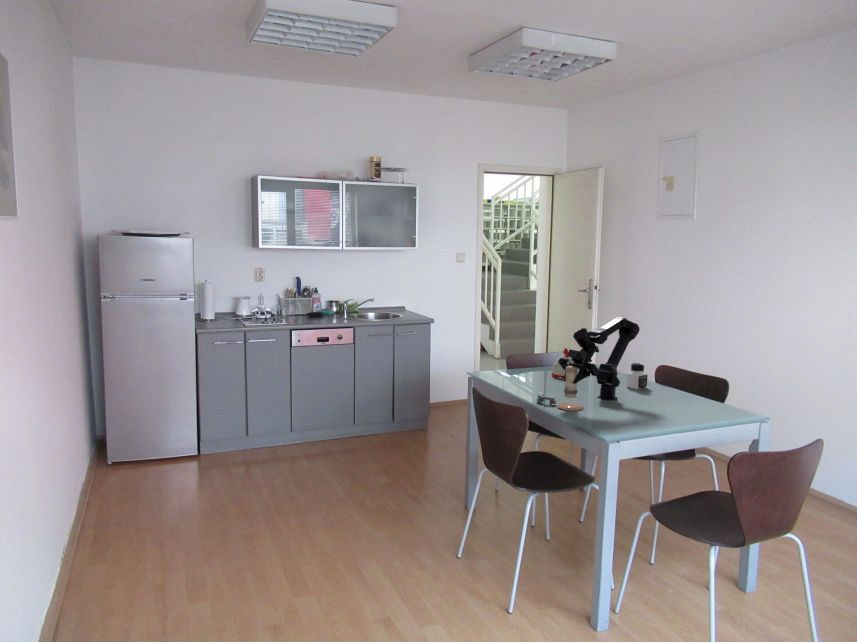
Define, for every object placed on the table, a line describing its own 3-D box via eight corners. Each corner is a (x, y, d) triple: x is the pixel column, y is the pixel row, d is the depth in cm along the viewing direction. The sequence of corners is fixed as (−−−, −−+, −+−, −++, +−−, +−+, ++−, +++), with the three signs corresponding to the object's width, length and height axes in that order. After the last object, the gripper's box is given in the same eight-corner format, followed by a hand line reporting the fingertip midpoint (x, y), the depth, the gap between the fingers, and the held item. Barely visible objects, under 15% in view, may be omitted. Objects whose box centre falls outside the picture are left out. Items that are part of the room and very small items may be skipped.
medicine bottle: (638, 390, 310) (639, 365, 309) (625, 387, 316) (627, 363, 315) (647, 388, 315) (648, 364, 313) (634, 385, 320) (636, 361, 319)
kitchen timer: (554, 379, 333) (555, 350, 331) (549, 373, 347) (550, 346, 345) (581, 378, 334) (582, 350, 332) (574, 373, 347) (575, 346, 345)
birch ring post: (563, 394, 280) (564, 365, 279) (576, 395, 279) (578, 366, 277) (563, 397, 275) (565, 368, 273) (577, 398, 274) (578, 368, 272)
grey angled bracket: (541, 398, 294) (541, 391, 293) (560, 404, 283) (560, 397, 283) (529, 399, 290) (529, 393, 290) (548, 406, 279) (548, 399, 279)
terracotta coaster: (570, 403, 285) (570, 401, 285) (588, 408, 276) (588, 407, 276) (551, 406, 280) (551, 405, 280) (569, 412, 270) (569, 411, 270)
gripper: (561, 339, 284) (544, 367, 278) (596, 345, 269) (578, 374, 264) (572, 355, 290) (555, 382, 284) (606, 361, 275) (589, 390, 270)
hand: (569, 382), depth 275 cm, fingers closed on birch ring post, 5 cm apart
